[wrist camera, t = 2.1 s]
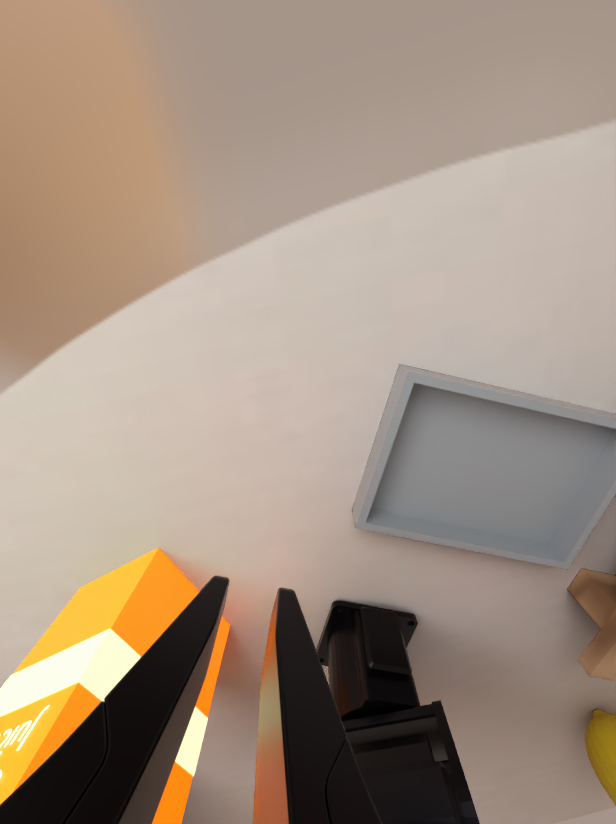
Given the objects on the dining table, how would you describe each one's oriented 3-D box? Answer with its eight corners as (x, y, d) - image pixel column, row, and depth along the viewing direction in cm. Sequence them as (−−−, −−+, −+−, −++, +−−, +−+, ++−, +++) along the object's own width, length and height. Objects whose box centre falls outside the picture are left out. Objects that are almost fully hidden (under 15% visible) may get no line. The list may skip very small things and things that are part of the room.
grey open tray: (546, 547, 23) (567, 569, 21) (351, 507, 22) (355, 528, 20) (624, 415, 20) (657, 428, 18) (398, 363, 19) (408, 371, 17)
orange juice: (159, 546, 23) (-473, 1604, 5) (232, 625, 26) (18, 1514, 7) (77, 588, 25) (-663, 1525, 6) (153, 659, 27) (-197, 1474, 8)
